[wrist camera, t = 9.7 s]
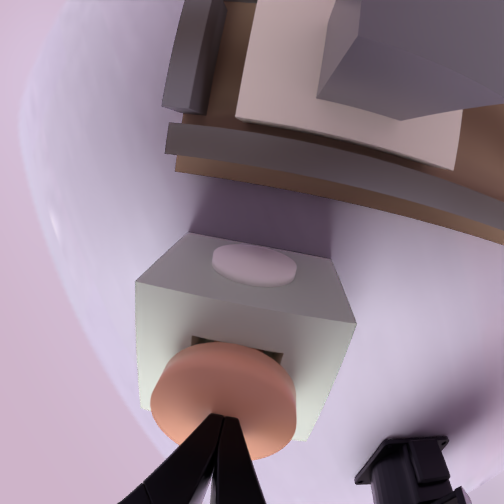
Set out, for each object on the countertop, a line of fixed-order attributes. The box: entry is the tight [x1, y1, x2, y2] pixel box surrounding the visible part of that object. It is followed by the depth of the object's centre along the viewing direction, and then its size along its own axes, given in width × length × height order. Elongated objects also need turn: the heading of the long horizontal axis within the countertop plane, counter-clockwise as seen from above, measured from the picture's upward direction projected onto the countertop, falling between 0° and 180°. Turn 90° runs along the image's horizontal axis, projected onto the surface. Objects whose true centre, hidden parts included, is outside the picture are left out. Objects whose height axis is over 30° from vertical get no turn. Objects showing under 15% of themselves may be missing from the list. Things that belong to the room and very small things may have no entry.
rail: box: [162, 0, 504, 245], centre depth 10 cm, size 10×24×4 cm, turn 80°
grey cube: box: [135, 232, 357, 441], centre depth 13 cm, size 6×7×6 cm
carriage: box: [235, 0, 504, 171], centre depth 7 cm, size 5×8×8 cm, turn 80°
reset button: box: [150, 340, 297, 460], centre depth 10 cm, size 4×4×5 cm
